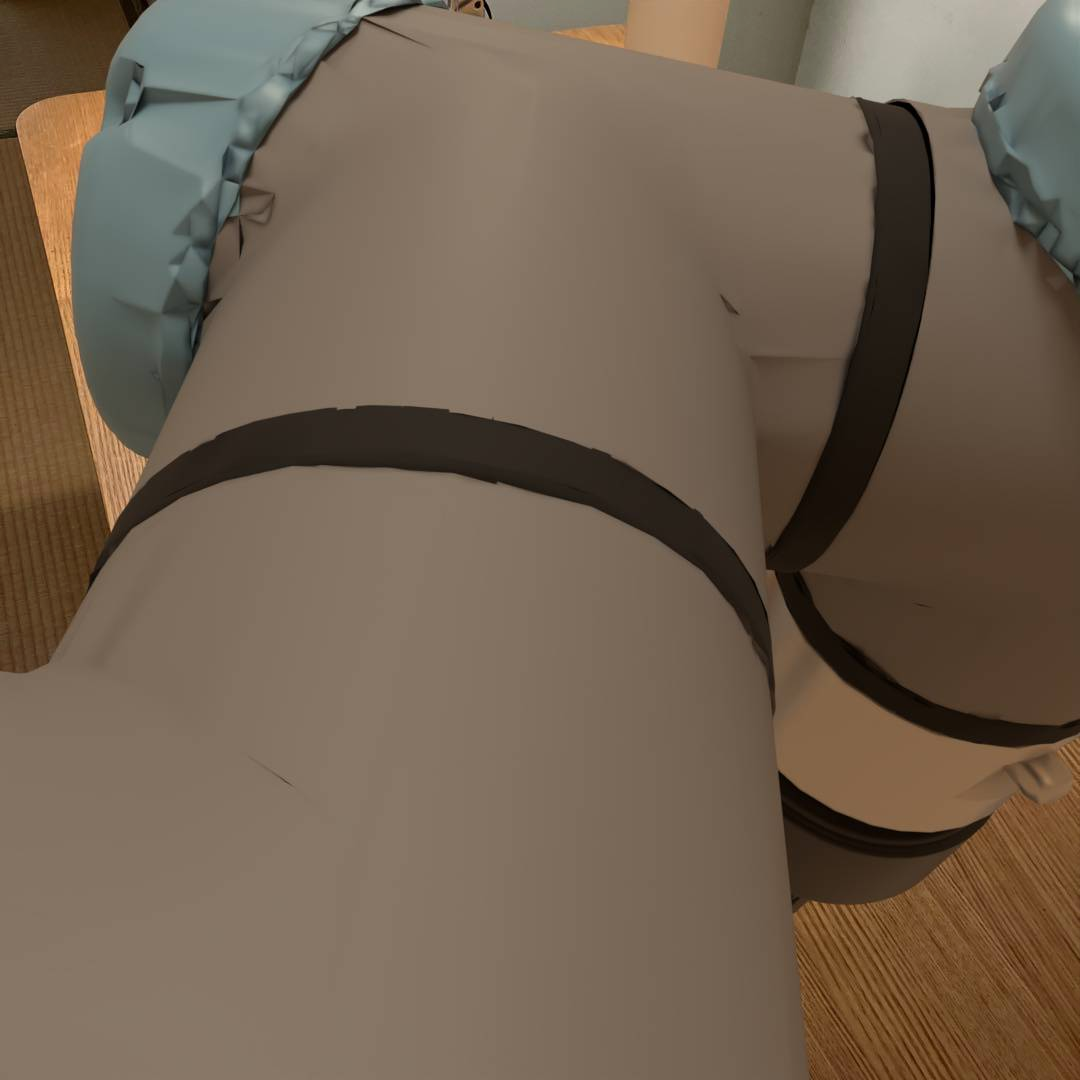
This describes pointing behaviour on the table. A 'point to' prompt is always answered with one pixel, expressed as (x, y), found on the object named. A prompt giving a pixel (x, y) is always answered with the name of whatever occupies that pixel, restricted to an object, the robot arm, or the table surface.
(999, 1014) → the table surface
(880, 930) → the table surface
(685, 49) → the tall pillar cylinder
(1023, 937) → the table surface
